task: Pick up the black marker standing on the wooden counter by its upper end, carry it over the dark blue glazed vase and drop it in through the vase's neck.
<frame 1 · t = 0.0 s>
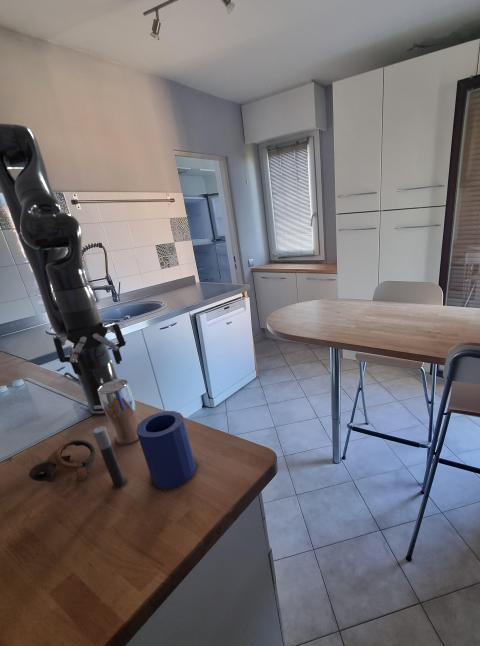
hand: (99, 368, 84), 17 cm above the counter, tool pointing down, fingers open, 8 cm apart
marker: (119, 483, 70), on the counter
vase: (174, 472, 72), on the counter
beer glass: (130, 437, 85), on the counter
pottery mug: (69, 475, 74), on the counter
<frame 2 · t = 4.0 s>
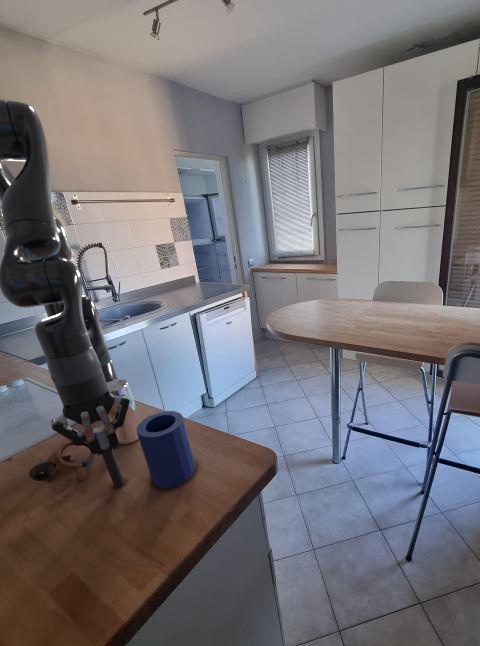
hand: (106, 449, 67), 9 cm above the counter, tool pointing down, fingers closed on marker, 2 cm apart
marker: (119, 483, 70), on the counter, touching gripper
everything else where it was.
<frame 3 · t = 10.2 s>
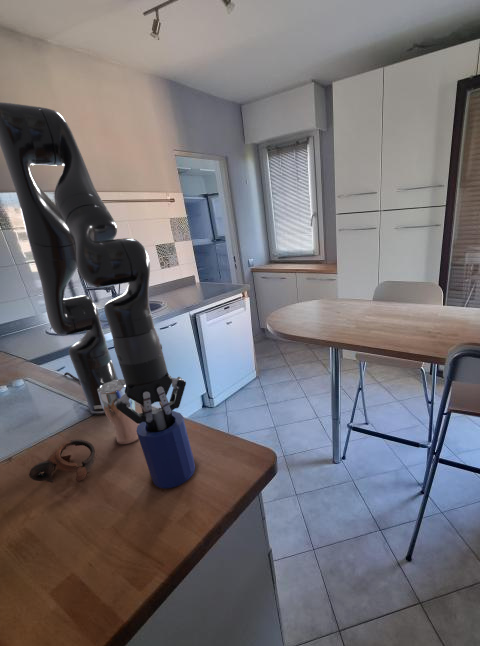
hand: (162, 431, 68), 11 cm above the counter, tool pointing down, fingers closed, pressing on marker, vase
marker: (172, 465, 71), point 2 cm above the counter, touching gripper
everything else where it was.
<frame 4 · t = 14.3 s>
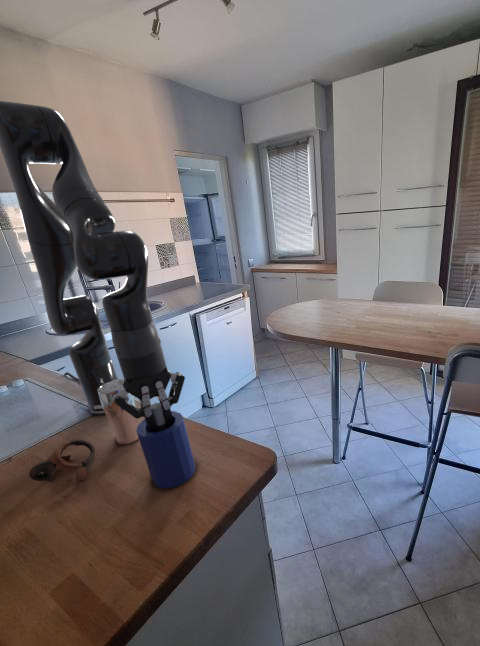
hand: (161, 426, 67), 12 cm above the counter, tool pointing down, fingers closed on marker, 2 cm apart
marker: (171, 461, 71), point 3 cm above the counter, touching gripper
everything else where it was.
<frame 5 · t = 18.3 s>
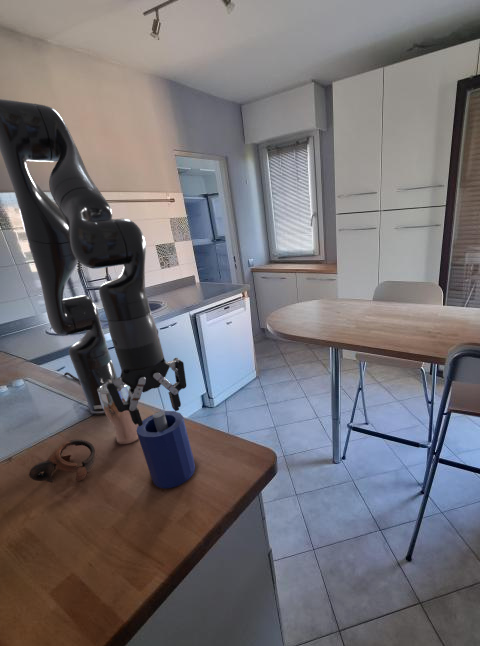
hand: (158, 416, 66), 15 cm above the counter, tool pointing down, fingers open, 6 cm apart
marker: (173, 469, 72), point 1 cm above the counter, touching vase
everything else where it was.
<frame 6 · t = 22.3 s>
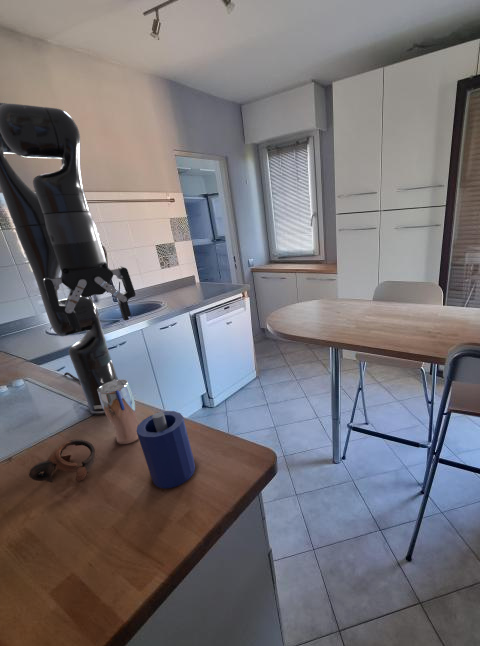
hand: (103, 324, 67), 32 cm above the counter, tool pointing down, fingers open, 8 cm apart
nothing on the counter moved.
at the end: marker 0.0 cm off-centre in the vase, point 1.0 cm above the vase's base; the gripper is holding nothing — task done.
